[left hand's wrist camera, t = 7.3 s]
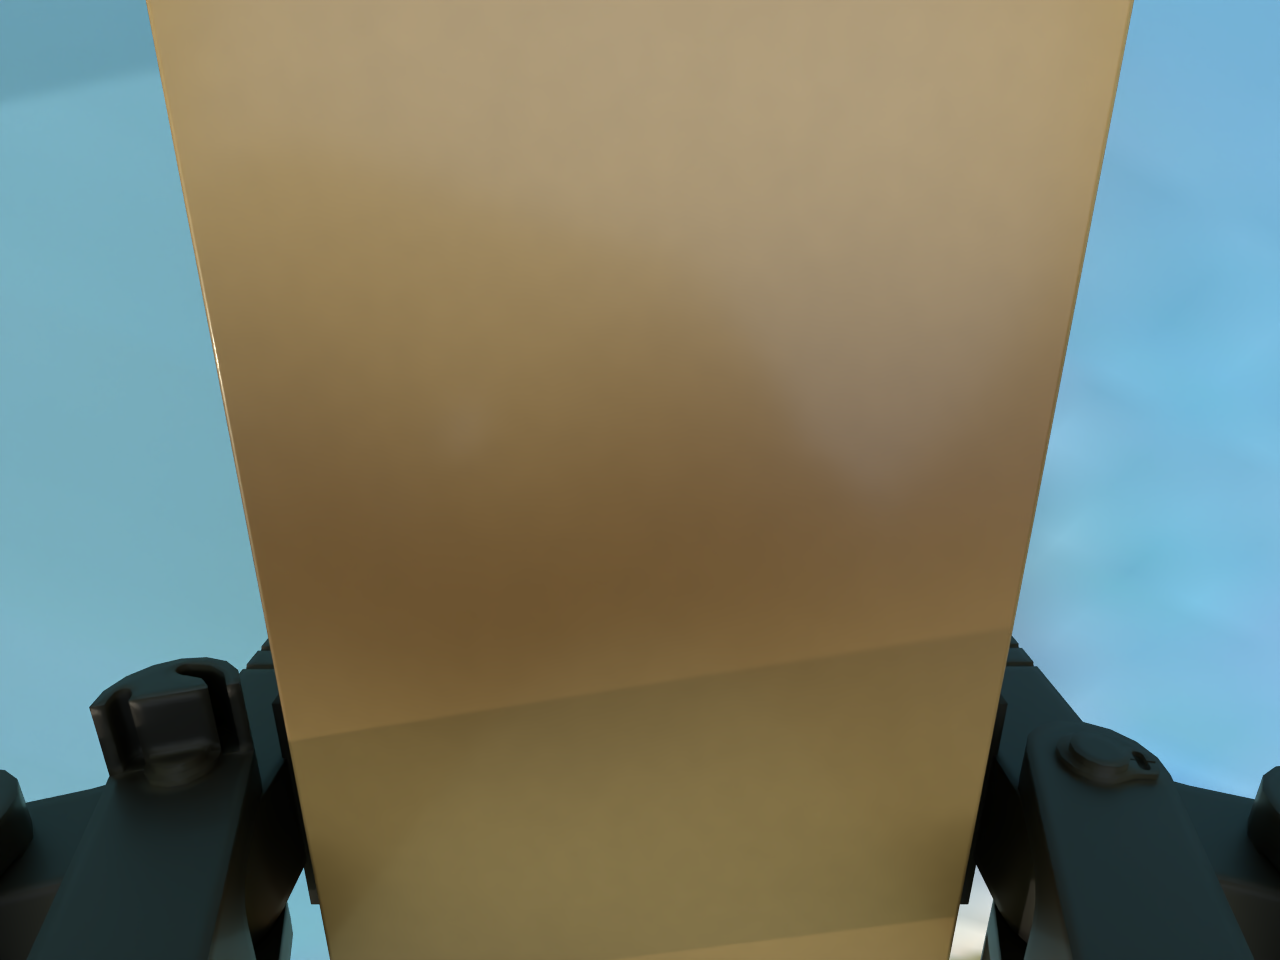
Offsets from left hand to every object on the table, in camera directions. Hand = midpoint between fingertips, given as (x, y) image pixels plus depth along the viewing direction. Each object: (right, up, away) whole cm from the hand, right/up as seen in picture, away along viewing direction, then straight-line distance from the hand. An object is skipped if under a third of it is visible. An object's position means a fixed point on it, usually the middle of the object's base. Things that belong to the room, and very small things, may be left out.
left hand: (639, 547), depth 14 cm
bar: (0, +9, -3) cm, 10 cm away
